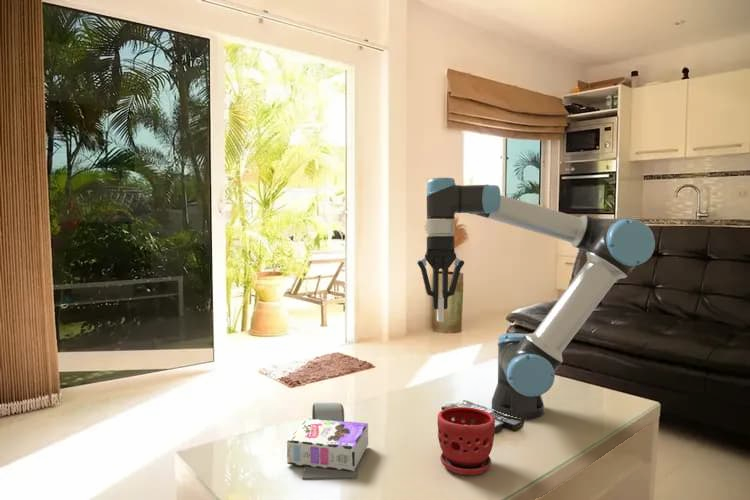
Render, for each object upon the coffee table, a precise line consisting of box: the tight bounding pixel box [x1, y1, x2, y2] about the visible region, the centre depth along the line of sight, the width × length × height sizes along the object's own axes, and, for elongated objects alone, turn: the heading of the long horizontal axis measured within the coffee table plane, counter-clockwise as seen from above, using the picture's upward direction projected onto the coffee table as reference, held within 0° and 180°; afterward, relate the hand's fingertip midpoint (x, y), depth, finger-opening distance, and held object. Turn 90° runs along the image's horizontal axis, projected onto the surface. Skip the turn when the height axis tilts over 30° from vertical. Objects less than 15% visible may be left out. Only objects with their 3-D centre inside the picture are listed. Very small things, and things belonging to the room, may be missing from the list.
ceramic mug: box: [311, 402, 345, 422], centre depth 138 cm, size 11×8×8 cm
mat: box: [301, 466, 358, 480], centre depth 119 cm, size 12×16×1 cm
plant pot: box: [437, 406, 496, 476], centre depth 117 cm, size 13×13×12 cm
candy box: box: [286, 418, 369, 471], centre depth 121 cm, size 14×6×16 cm
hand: (440, 320), depth 138 cm, fingers closed
